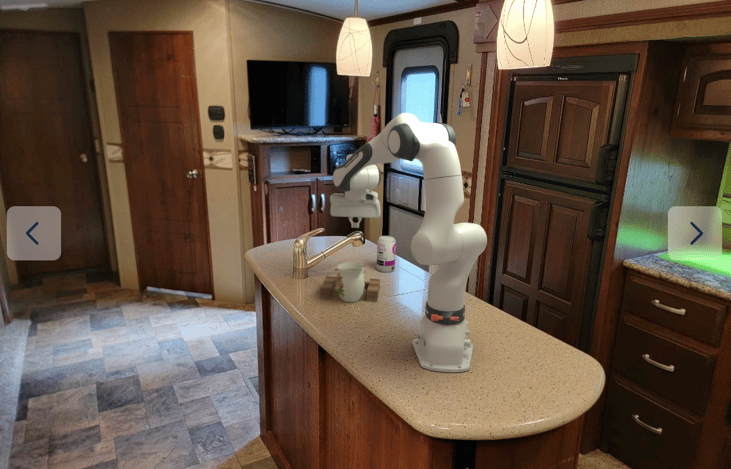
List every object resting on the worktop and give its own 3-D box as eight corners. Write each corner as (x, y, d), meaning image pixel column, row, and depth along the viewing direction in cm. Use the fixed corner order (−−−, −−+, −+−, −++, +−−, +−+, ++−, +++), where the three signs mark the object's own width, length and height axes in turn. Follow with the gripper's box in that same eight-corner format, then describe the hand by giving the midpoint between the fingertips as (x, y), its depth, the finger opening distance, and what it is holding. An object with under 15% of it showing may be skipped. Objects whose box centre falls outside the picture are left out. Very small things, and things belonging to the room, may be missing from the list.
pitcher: (352, 288, 198) (352, 255, 194) (372, 304, 182) (373, 269, 178) (327, 292, 193) (327, 259, 189) (345, 309, 177) (346, 273, 174)
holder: (377, 301, 184) (377, 292, 183) (320, 298, 186) (320, 288, 185) (379, 288, 198) (380, 279, 197) (326, 285, 200) (326, 276, 199)
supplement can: (396, 267, 223) (397, 236, 219) (392, 273, 215) (394, 241, 211) (378, 266, 225) (379, 234, 221) (375, 271, 217) (375, 239, 213)
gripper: (328, 194, 191) (328, 228, 194) (380, 196, 189) (379, 230, 192) (331, 191, 197) (331, 224, 200) (381, 193, 195) (380, 226, 198)
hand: (355, 227), depth 196 cm, fingers closed
